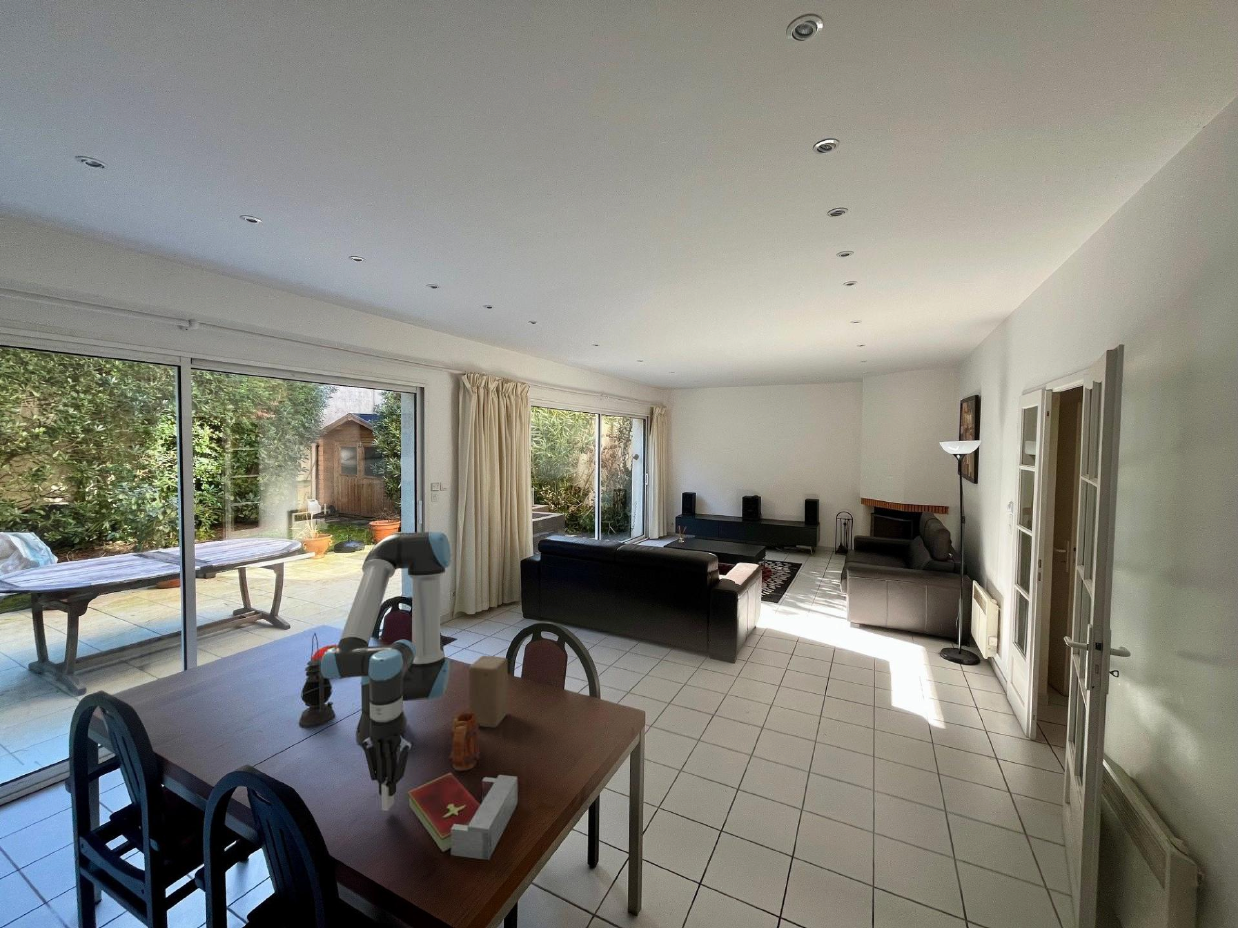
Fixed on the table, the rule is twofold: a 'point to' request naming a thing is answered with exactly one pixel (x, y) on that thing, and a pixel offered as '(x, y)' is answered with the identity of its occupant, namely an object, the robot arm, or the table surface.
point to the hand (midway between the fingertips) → (387, 806)
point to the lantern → (316, 695)
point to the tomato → (323, 651)
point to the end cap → (486, 819)
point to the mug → (464, 741)
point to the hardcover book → (443, 807)
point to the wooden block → (488, 690)
